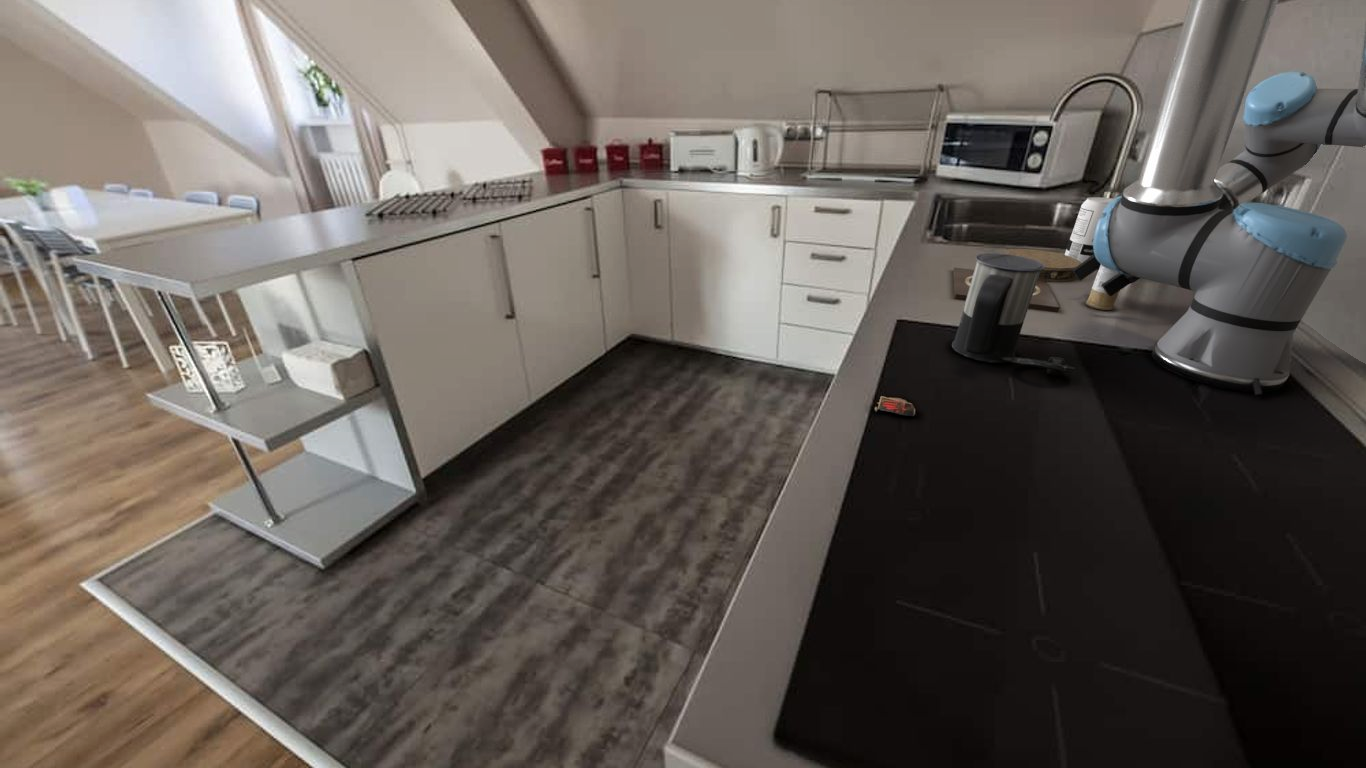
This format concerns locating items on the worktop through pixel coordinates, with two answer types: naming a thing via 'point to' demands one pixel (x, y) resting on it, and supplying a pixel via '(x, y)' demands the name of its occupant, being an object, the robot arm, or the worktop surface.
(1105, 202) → the supplement can
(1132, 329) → the worktop surface
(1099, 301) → the sprinkles bottle
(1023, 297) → the milk frother
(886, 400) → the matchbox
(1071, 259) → the brown round flat disc
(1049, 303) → the serving tray
